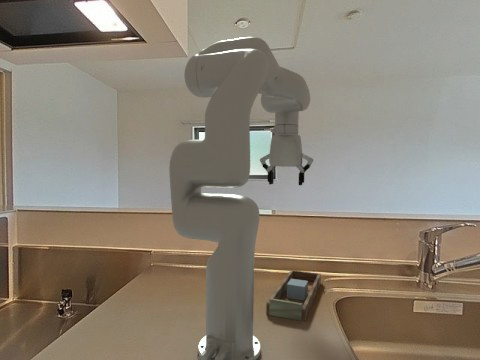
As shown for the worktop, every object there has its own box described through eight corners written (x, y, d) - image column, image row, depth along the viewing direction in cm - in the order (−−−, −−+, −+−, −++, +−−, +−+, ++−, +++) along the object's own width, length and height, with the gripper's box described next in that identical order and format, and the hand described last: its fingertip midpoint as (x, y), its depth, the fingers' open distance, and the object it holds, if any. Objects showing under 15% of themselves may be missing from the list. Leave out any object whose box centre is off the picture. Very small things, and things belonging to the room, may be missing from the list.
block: (304, 301, 92) (304, 286, 91) (286, 298, 93) (287, 284, 93) (307, 294, 96) (307, 280, 96) (290, 291, 98) (291, 278, 98)
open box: (304, 321, 79) (304, 305, 79) (266, 314, 83) (266, 298, 83) (320, 283, 105) (320, 270, 105) (290, 278, 108) (291, 267, 108)
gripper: (257, 131, 105) (256, 184, 106) (312, 129, 99) (311, 186, 100) (263, 133, 112) (263, 183, 113) (315, 131, 107) (314, 184, 107)
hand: (285, 184), depth 107 cm, fingers open, 9 cm apart
